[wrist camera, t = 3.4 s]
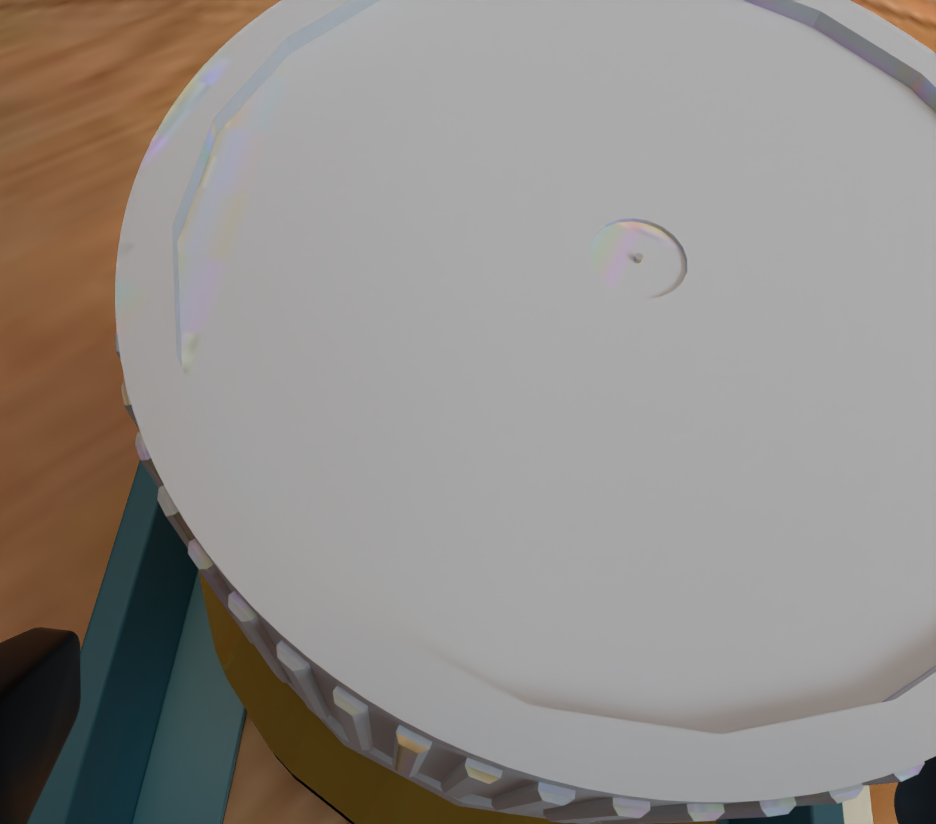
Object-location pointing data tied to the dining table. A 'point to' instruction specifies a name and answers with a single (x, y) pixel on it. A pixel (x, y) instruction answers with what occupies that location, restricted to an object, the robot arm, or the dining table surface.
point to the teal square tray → (181, 697)
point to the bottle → (553, 399)
